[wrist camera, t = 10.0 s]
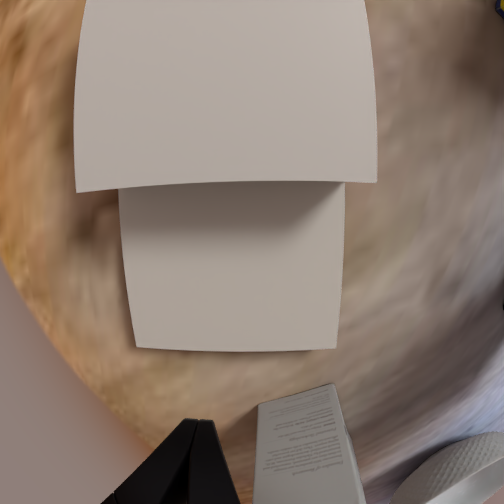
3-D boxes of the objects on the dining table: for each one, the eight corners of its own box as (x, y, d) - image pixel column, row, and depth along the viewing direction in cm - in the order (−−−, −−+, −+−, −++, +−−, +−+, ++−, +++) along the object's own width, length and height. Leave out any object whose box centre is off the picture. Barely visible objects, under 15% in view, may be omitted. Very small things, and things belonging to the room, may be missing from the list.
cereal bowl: (480, 390, 20) (514, 437, 14) (510, 429, 23) (532, 461, 16) (349, 487, 24) (360, 538, 17) (414, 502, 27) (426, 537, 20)
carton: (342, 176, 16) (377, 183, 11) (123, 183, 16) (76, 193, 11) (330, -14, 12) (350, -59, 7) (129, -1, 12) (95, -39, 8)
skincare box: (352, 439, 21) (389, 588, 7) (285, 458, 22) (294, 607, 8) (331, 376, 19) (386, 580, 5) (249, 400, 20) (241, 601, 6)
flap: (339, 180, 15) (332, 340, 17) (125, 187, 16) (141, 339, 18) (344, 180, 14) (336, 348, 16) (117, 187, 15) (136, 347, 17)
